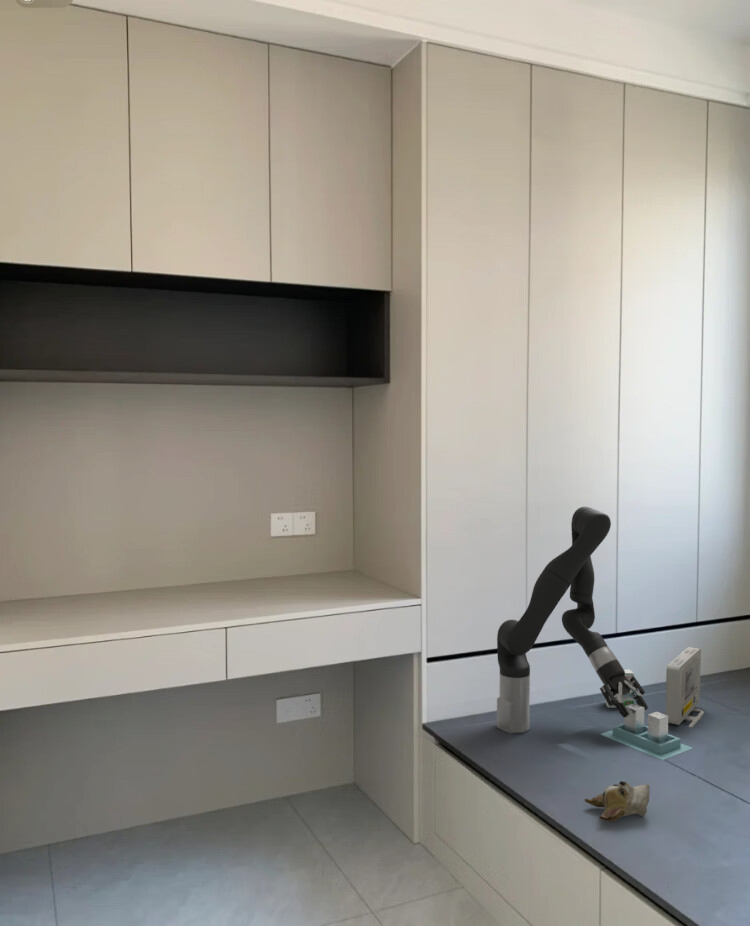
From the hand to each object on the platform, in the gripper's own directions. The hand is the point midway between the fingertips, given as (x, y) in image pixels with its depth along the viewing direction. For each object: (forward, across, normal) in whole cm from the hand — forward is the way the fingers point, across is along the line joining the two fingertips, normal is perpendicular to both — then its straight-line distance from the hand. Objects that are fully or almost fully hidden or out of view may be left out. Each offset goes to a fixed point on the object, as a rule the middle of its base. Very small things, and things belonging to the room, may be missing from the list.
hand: (636, 713), depth 247 cm
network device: (+4, +28, +9) cm, 30 cm away
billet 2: (+10, 0, 0) cm, 11 cm away
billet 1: (+5, 0, +6) cm, 7 cm away
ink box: (-10, +20, +22) cm, 31 cm away
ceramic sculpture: (+25, -39, -12) cm, 48 cm away
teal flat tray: (+9, 0, +4) cm, 9 cm away
